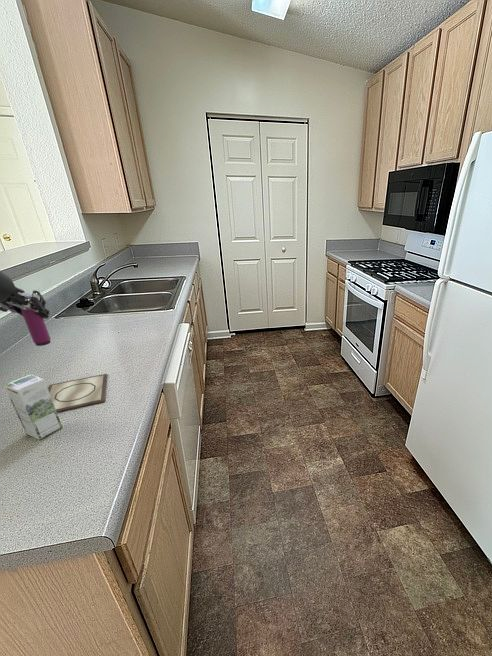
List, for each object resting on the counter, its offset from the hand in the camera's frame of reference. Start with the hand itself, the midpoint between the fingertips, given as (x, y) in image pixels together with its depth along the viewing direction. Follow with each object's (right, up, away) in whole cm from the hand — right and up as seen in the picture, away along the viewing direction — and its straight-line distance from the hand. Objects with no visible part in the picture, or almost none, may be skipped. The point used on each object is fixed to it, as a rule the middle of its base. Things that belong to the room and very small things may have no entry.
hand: (38, 315), depth 84 cm
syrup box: (+3, -30, -1) cm, 30 cm away
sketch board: (0, -22, +15) cm, 26 cm away
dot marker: (0, -7, +1) cm, 7 cm away
